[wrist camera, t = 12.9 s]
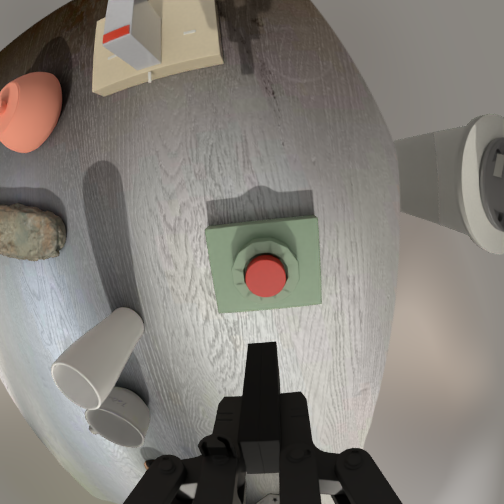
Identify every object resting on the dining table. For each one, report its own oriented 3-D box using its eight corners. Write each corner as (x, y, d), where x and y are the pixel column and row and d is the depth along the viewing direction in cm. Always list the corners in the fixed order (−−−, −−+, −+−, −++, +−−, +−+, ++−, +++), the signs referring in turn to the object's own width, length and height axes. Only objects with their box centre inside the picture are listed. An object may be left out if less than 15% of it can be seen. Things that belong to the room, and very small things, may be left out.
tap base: (216, -5, 23) (212, -17, 20) (225, 75, 27) (221, 65, 23) (107, 28, 24) (96, 20, 21) (104, 107, 28) (91, 103, 25)
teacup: (134, 374, 38) (115, 407, 31) (168, 418, 41) (155, 451, 33) (83, 381, 40) (63, 407, 32) (114, 420, 43) (100, 447, 35)
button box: (314, 214, 30) (321, 220, 27) (318, 296, 33) (324, 311, 29) (208, 226, 31) (200, 232, 27) (221, 305, 34) (216, 321, 30)
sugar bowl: (72, 136, 29) (20, 130, 19) (16, 166, 30) (-29, 171, 20) (71, 63, 26) (27, 44, 16) (15, 101, 27) (-26, 95, 17)
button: (283, 252, 28) (284, 257, 26) (286, 288, 29) (287, 295, 27) (244, 256, 28) (242, 261, 27) (248, 292, 29) (247, 299, 28)
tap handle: (138, 26, 22) (107, -5, 14) (161, 18, 22) (134, -16, 14) (137, 70, 24) (100, 45, 16) (161, 63, 24) (129, 33, 16)
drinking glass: (109, 294, 34) (44, 351, 20) (151, 309, 35) (97, 378, 20) (109, 333, 36) (56, 394, 22) (149, 347, 36) (104, 419, 22)
